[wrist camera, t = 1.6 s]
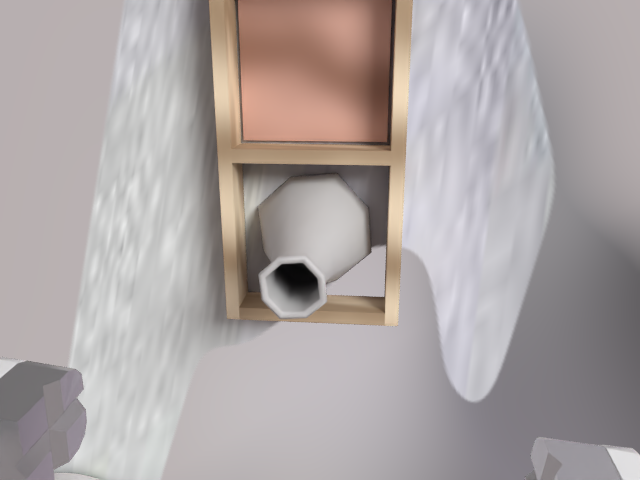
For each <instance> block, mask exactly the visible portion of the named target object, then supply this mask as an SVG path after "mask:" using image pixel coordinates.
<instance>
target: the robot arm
mask: <svg viewBox="0 0 640 480" xmlns="http://www.w3.org/2000/svg"><path fill="white" fill-rule="evenodd" d="M83 389H84V388H83V381H82V374H81V373H80V372H79V371H77V370H76V369H73V368H67V367H61V366H55V365H49V364H43V363H37V362H31V361H23V360H18V359H12V358H5V357H0V480H100V479H97V478H93V477H90V476H86V475H81V474H74V473H54V469H56V468H58V467H60V466H62V465H64V464H66V463H68V462H70V460H71V459H72V458H73V456H74V455H75V454H76V452H77V451H78V449H79V447H80V445H81V442H82V440H83V437H84V435H85V429H86V422H87V419H86V409H85V408H84V407H83V405H82V404H81V403H80V401H79V400H78V399H77V397H78V396H79V394H80V393H81V392H82V391H83ZM530 456H531V460H532V463H533V466H534V470H533V471H532V472H531V473H529V474H528V475H527V476H525V479H524V480H640V455H639V454H638V453H637V452H636V451H635V450H633V449H632V448H625V447H616V446H607V445H599V446H598V445H592V444H585V443H577V442H571V441H564V440H557V439H549V438H542V437H537V439H536V441H535V442H534V445H533V448H532V452H531V455H530Z"/></svg>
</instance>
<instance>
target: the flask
mask: <svg viewBox="0 0 640 480" xmlns="http://www.w3.org/2000/svg"><path fill="white" fill-rule="evenodd" d="M258 211H259V219H260V227H261V234H262V242H263V250H264V252H265V254H266V255H267V257H268V258H269V260H270V261H271V263H270V264H269V265H268V266H267V267H266V268H265V269H263V270H262V271H261V272H260V273H259V275H258V277H259V284H260V292H261V299H262V301H263V302H264V303H265V304H266V305H267V306H268V307H269V308H270V309H271V310H272V312H273V313H274V314H275V315H276V316H277V317H278V318H279V319H299V318H307V317H309V316H310V315H311V314H312V313H314V312H315V311H316V310H318V309H319V308H320V307H321V306H323V305H324V304H325V303H326V302H327V293H326V283H328V282H332V281H335V280H338V279H339V278H340V277H341V276H343V275H344V274H345V273H346V272H348V271H349V270H350V269H351V268H352V267H354V266H355V265H356V264H358V263H359V262H360V261H361V260H363V259H364V258H365V257H366V256H367V255H369V254H370V253H371V238H370V223H369V209H368V207H367V206H366V205H365V204H364V203H363V202H362V200H361V199H360V198H359V197H358V196H357V195H356V194H355V192H354V191H353V190H352V189H351V188H350V187H349V186H348V185H347V183H346V182H345V181H344V180H343V179H342V178H341V177H340V176H339V174H338V173H337V174H323V175H309V176H296V177H290V178H289V179H288V180H287V181H286V182H285V183H284V184H282V185H281V186H280V187H279V188H278V189H277V190H276V191H275V192H274V193H272V194H271V195H270V196H269V197H268V198H267V199H266V200H265V201H264V202H262V203H261V204H260V205H259V206H258Z"/></svg>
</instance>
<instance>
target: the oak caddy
mask: <svg viewBox="0 0 640 480" xmlns="http://www.w3.org/2000/svg"><path fill="white" fill-rule="evenodd" d="M412 5H413V0H395V27H394V54H393V81H392V108H391V135H390V145H352V144H269V143H241V122H240V100H239V77H238V54H237V31H236V8H235V0H209V12H210V30H211V47H212V65H213V82H214V100H215V117H216V135H217V152H218V170H219V187H220V205H221V222H222V240H223V257H224V275H225V292H226V310H227V319H242V320H266V321H289V322H314V323H336V324H360V325H384V326H398V312H399V290H400V269H401V247H402V225H403V203H404V181H405V159H406V137H407V115H408V93H409V71H410V49H411V27H412ZM391 12H392V0H238V17H239V41H240V64H241V88H242V111H243V135H244V140H260V141H347V142H387V126H388V97H389V69H390V40H391ZM242 163H258V164H322V165H386V166H389V190H388V217H387V244H386V271H385V297H367V296H342V295H327V302H326V303H325V304H324V305H323V306H321V307H320V308H319V309H318V310H316V311H315V312H314V313H312V314H311V315H310V316H309V317H307V318H299V319H279V318H278V317H277V316H276V315H275V314H274V313H273V312H272V310H271V309H270V308H269V307H268V306H267V305H266V304H265V303H264V302H263V301H262V299H261V292H248V282H247V259H246V236H245V213H244V191H243V168H242Z"/></svg>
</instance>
